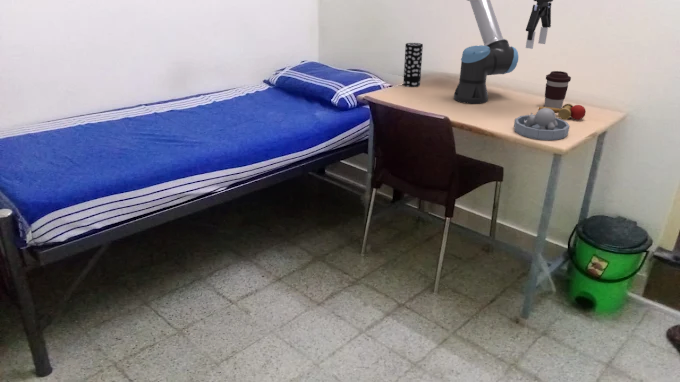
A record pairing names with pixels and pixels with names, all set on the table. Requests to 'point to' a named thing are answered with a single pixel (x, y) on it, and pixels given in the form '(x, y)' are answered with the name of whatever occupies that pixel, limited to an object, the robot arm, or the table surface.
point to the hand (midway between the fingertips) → (535, 45)
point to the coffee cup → (556, 89)
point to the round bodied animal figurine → (542, 119)
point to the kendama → (569, 111)
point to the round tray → (539, 134)
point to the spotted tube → (412, 64)
